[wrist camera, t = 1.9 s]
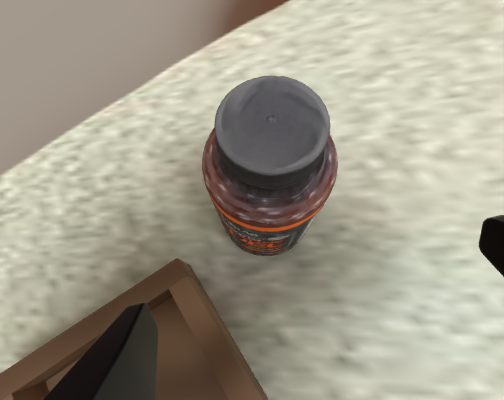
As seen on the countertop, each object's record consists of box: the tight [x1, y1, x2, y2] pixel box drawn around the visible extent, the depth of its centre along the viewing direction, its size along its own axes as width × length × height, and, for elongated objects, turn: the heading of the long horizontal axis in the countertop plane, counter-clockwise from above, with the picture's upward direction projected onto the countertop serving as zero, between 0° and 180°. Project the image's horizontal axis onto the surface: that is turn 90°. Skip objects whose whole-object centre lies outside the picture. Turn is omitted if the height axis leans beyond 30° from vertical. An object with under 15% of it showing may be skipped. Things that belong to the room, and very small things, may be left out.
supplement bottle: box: [202, 76, 338, 256], centre depth 15 cm, size 6×6×11 cm
